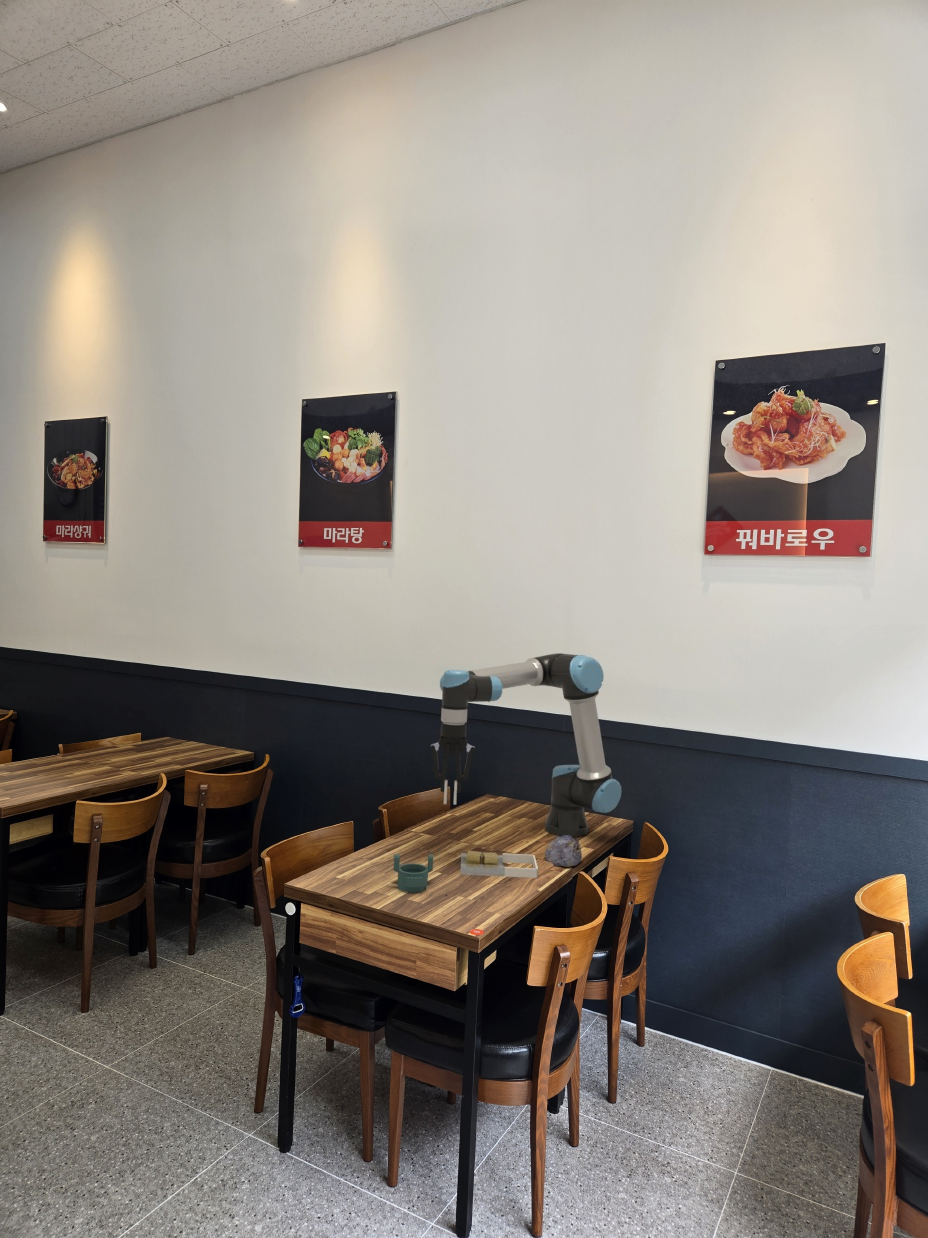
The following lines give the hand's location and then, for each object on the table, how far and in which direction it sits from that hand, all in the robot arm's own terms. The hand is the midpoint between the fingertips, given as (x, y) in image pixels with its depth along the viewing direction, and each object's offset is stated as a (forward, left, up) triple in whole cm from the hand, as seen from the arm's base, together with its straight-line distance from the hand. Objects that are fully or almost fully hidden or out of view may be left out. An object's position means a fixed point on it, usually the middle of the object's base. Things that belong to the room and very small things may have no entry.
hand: (450, 803), depth 228 cm
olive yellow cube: (-8, 0, -18) cm, 20 cm away
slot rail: (-10, 0, -19) cm, 22 cm away
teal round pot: (+9, +16, -20) cm, 27 cm away
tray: (-21, 0, -19) cm, 29 cm away
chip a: (-12, 0, -18) cm, 22 cm away
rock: (-35, -11, -20) cm, 42 cm away
